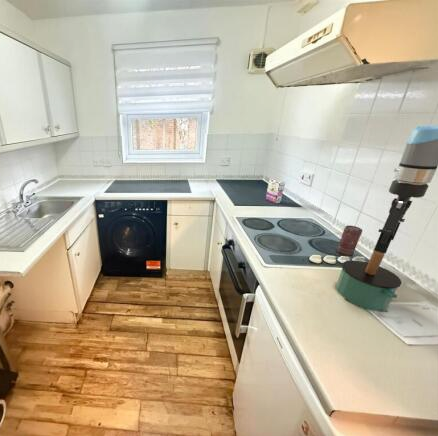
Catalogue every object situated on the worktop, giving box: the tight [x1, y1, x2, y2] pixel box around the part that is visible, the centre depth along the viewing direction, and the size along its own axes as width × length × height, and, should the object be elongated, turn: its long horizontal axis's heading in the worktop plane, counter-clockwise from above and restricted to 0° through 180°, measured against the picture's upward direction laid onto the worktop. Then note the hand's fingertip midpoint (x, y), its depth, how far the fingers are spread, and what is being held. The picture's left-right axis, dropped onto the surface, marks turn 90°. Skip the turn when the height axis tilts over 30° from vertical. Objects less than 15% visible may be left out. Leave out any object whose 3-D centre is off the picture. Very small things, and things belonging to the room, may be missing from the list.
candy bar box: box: [264, 178, 286, 205], centre depth 181 cm, size 11×5×16 cm, turn 15°
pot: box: [335, 259, 398, 311], centre depth 85 cm, size 15×20×10 cm
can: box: [336, 225, 364, 258], centre depth 110 cm, size 6×6×14 cm
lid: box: [341, 250, 402, 289], centre depth 81 cm, size 16×16×9 cm
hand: (383, 244), depth 78 cm, fingers open, 13 cm apart
